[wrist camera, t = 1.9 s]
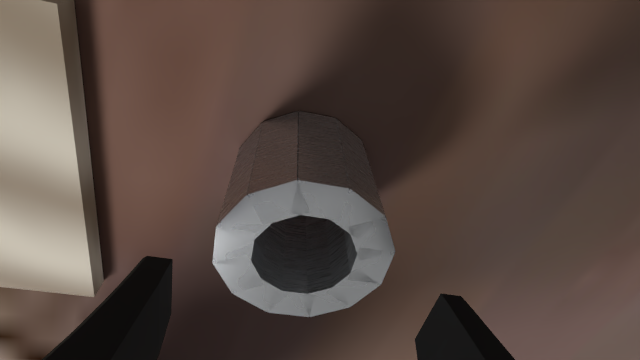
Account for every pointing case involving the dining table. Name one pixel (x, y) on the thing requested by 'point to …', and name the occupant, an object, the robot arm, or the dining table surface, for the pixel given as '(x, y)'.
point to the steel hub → (302, 219)
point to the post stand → (45, 154)
